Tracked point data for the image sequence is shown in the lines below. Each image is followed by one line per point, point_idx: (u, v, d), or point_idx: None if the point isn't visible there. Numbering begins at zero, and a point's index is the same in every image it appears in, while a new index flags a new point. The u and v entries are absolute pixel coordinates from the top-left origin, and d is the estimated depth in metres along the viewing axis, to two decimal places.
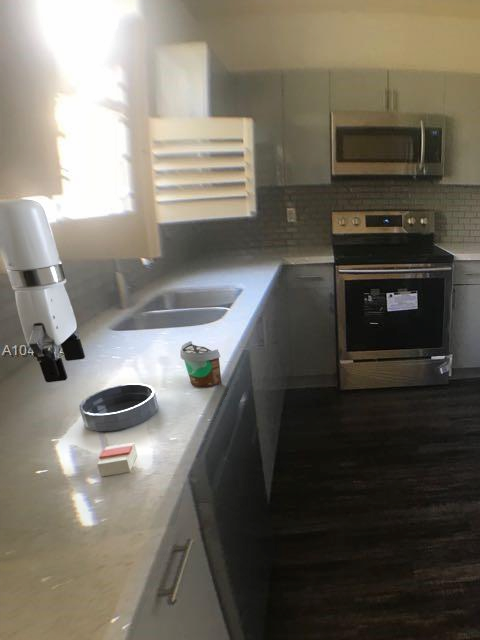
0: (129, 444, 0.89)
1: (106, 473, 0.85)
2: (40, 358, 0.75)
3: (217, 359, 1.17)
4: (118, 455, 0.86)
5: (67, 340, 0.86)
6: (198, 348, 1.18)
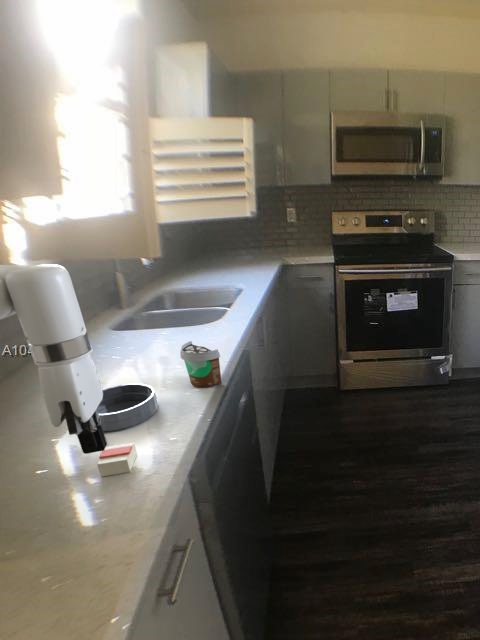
0: (129, 444, 0.89)
1: (106, 473, 0.85)
2: None
3: (217, 359, 1.17)
4: (118, 455, 0.86)
5: None
6: (198, 348, 1.18)
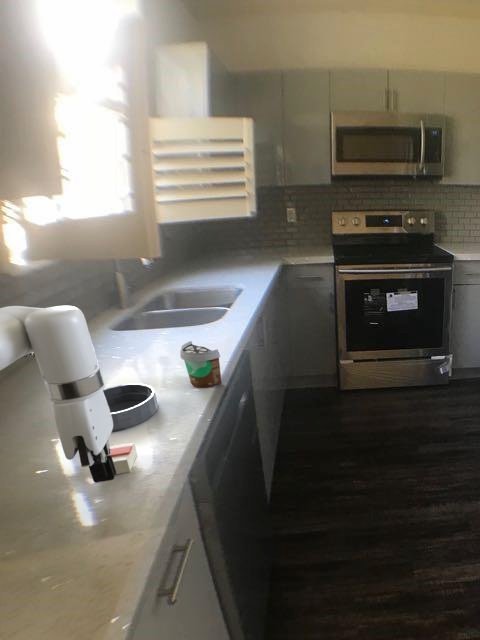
0: (129, 444, 0.89)
1: None
2: None
3: (217, 359, 1.17)
4: (118, 455, 0.86)
5: None
6: (198, 348, 1.18)
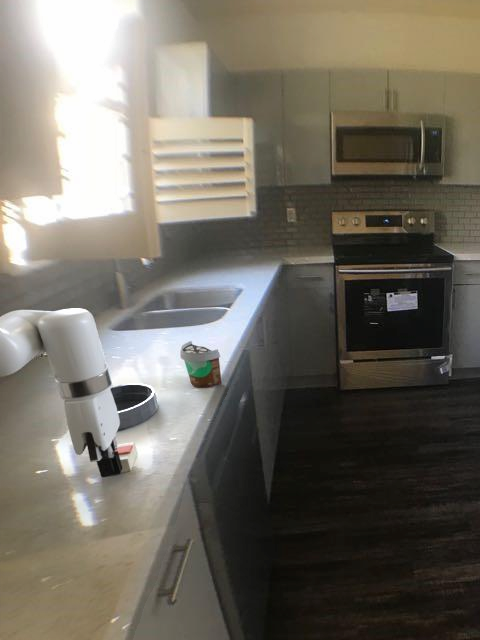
0: (130, 443, 0.90)
1: None
2: None
3: (217, 359, 1.17)
4: (119, 454, 0.86)
5: None
6: (198, 348, 1.18)
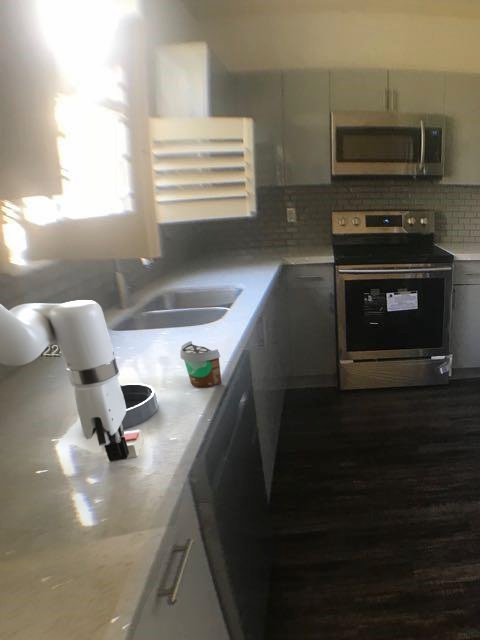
0: (136, 431, 0.94)
1: None
2: None
3: (217, 359, 1.17)
4: None
5: None
6: (198, 348, 1.18)
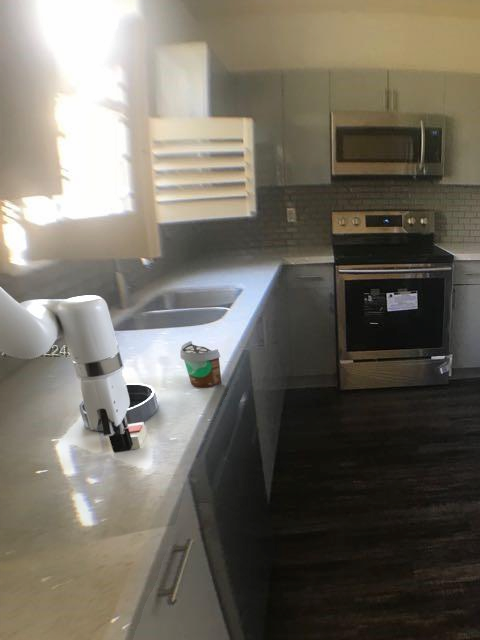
0: (139, 423, 0.97)
1: None
2: None
3: (217, 359, 1.17)
4: None
5: None
6: (198, 348, 1.18)
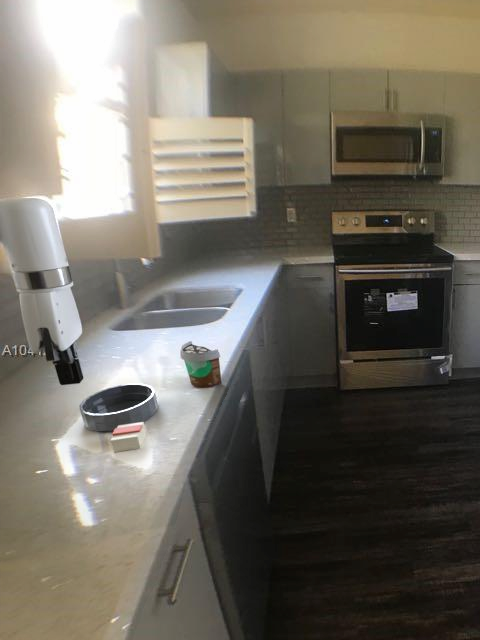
0: (139, 423, 0.97)
1: (118, 449, 0.92)
2: (56, 361, 0.76)
3: (217, 359, 1.17)
4: (129, 432, 0.93)
5: None
6: (198, 348, 1.18)
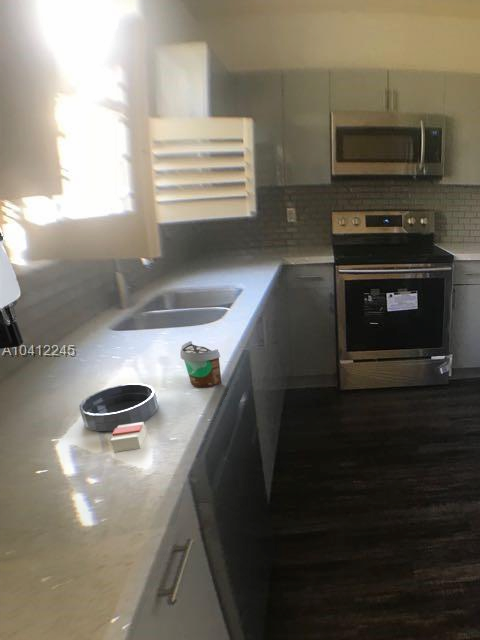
0: (139, 423, 0.97)
1: (118, 449, 0.92)
2: None
3: (217, 359, 1.17)
4: (129, 432, 0.93)
5: None
6: (198, 348, 1.18)
